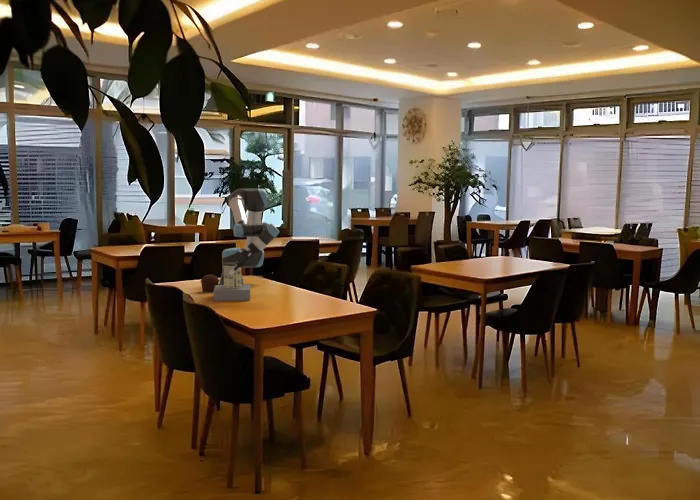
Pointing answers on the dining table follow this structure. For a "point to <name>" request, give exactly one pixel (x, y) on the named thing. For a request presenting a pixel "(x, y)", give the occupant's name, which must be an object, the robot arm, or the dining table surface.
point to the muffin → (209, 283)
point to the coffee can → (232, 280)
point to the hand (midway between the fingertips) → (230, 272)
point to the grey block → (231, 293)
